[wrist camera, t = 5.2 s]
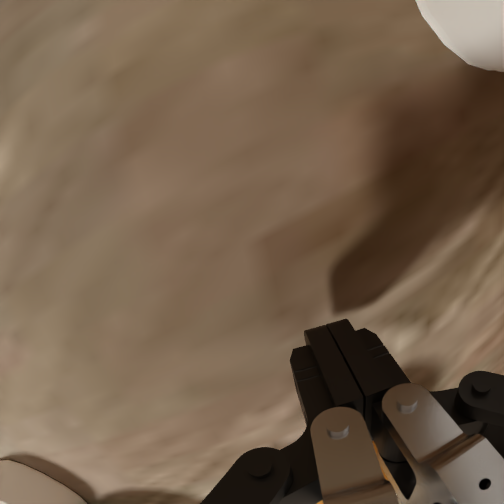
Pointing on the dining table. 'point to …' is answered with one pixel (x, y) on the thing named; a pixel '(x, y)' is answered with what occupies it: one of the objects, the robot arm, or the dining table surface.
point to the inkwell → (32, 486)
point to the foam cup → (469, 29)
